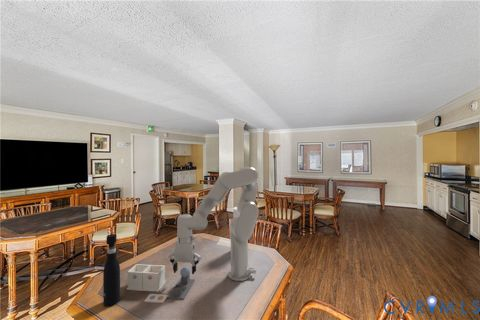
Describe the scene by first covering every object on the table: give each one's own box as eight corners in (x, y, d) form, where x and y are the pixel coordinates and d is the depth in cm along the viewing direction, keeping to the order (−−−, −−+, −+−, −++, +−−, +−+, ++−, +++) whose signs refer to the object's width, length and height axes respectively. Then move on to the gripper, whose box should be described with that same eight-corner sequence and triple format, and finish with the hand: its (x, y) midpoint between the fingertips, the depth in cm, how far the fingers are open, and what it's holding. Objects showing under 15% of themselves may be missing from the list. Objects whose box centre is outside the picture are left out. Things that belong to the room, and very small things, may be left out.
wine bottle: (123, 296, 96) (122, 232, 96) (115, 306, 89) (114, 237, 89) (109, 297, 95) (108, 233, 96) (100, 307, 89) (99, 238, 89)
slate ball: (191, 274, 108) (191, 264, 108) (188, 279, 103) (188, 269, 103) (182, 273, 108) (182, 264, 108) (178, 279, 103) (178, 269, 104)
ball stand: (194, 280, 108) (194, 273, 108) (183, 299, 93) (183, 291, 93) (180, 279, 109) (180, 272, 109) (167, 298, 94) (167, 290, 94)
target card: (168, 295, 96) (168, 294, 96) (163, 302, 91) (163, 301, 91) (150, 294, 97) (150, 293, 97) (144, 301, 92) (144, 300, 92)
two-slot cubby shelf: (166, 281, 108) (166, 265, 108) (158, 291, 99) (157, 273, 99) (136, 279, 109) (136, 263, 109) (126, 289, 101) (126, 272, 101)
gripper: (203, 237, 109) (202, 269, 108) (172, 235, 110) (171, 267, 110) (198, 242, 101) (198, 277, 101) (165, 241, 103) (165, 275, 103)
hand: (184, 272), depth 106 cm, fingers open, 9 cm apart
